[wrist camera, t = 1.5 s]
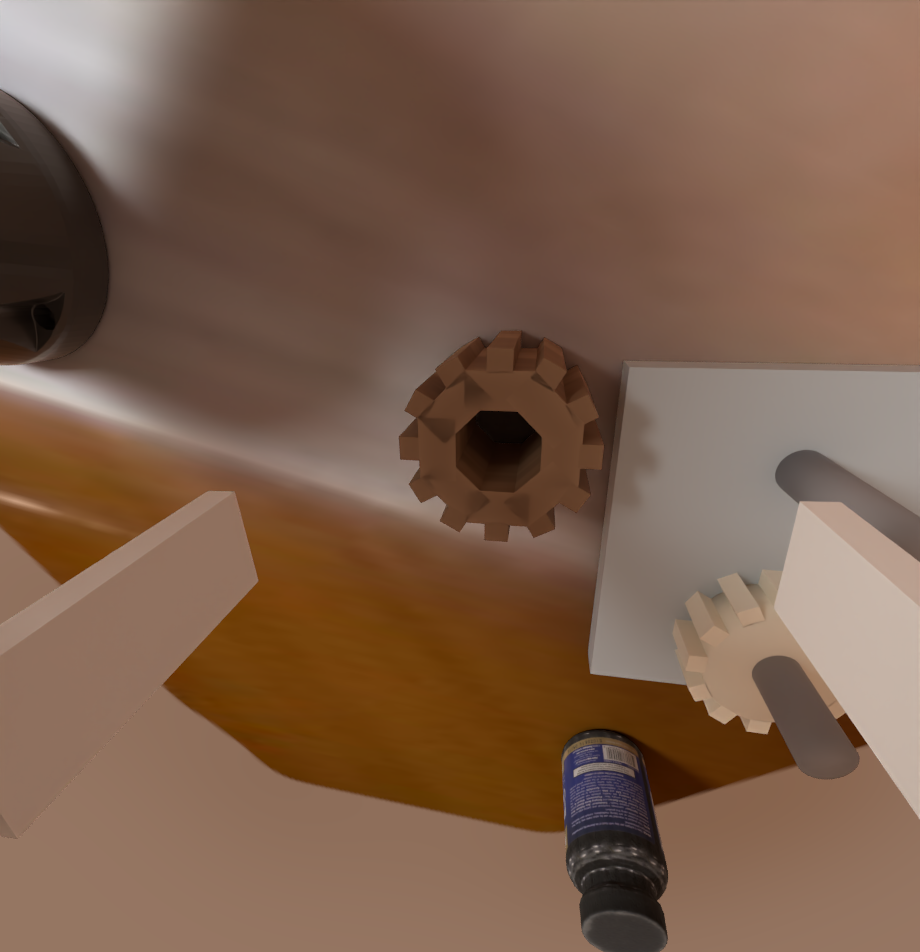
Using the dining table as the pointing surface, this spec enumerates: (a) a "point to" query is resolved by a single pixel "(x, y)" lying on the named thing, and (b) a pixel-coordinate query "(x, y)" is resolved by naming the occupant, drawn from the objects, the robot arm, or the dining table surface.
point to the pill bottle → (613, 843)
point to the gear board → (743, 528)
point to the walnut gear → (503, 464)
